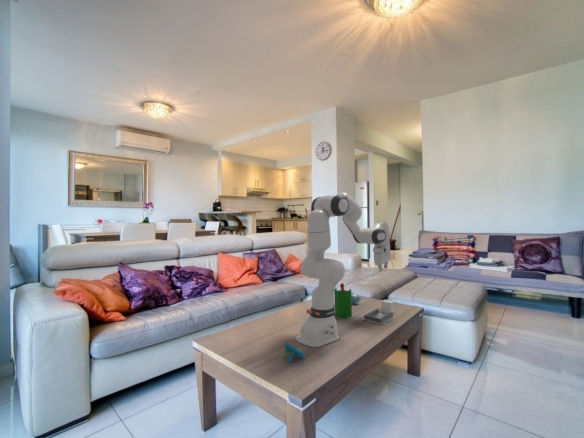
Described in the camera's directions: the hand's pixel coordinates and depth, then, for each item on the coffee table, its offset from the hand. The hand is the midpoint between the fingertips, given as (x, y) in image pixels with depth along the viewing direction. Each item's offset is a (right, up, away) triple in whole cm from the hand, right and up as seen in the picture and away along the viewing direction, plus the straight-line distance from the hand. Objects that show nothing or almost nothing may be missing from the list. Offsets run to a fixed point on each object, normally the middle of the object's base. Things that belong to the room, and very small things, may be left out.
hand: (383, 269), depth 171 cm
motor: (-25, -28, -3) cm, 37 cm away
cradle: (-6, -27, -11) cm, 29 cm away
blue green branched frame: (-56, -28, -54) cm, 83 cm away
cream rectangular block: (+3, -27, 0) cm, 27 cm away
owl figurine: (-17, -28, +22) cm, 39 cm away
